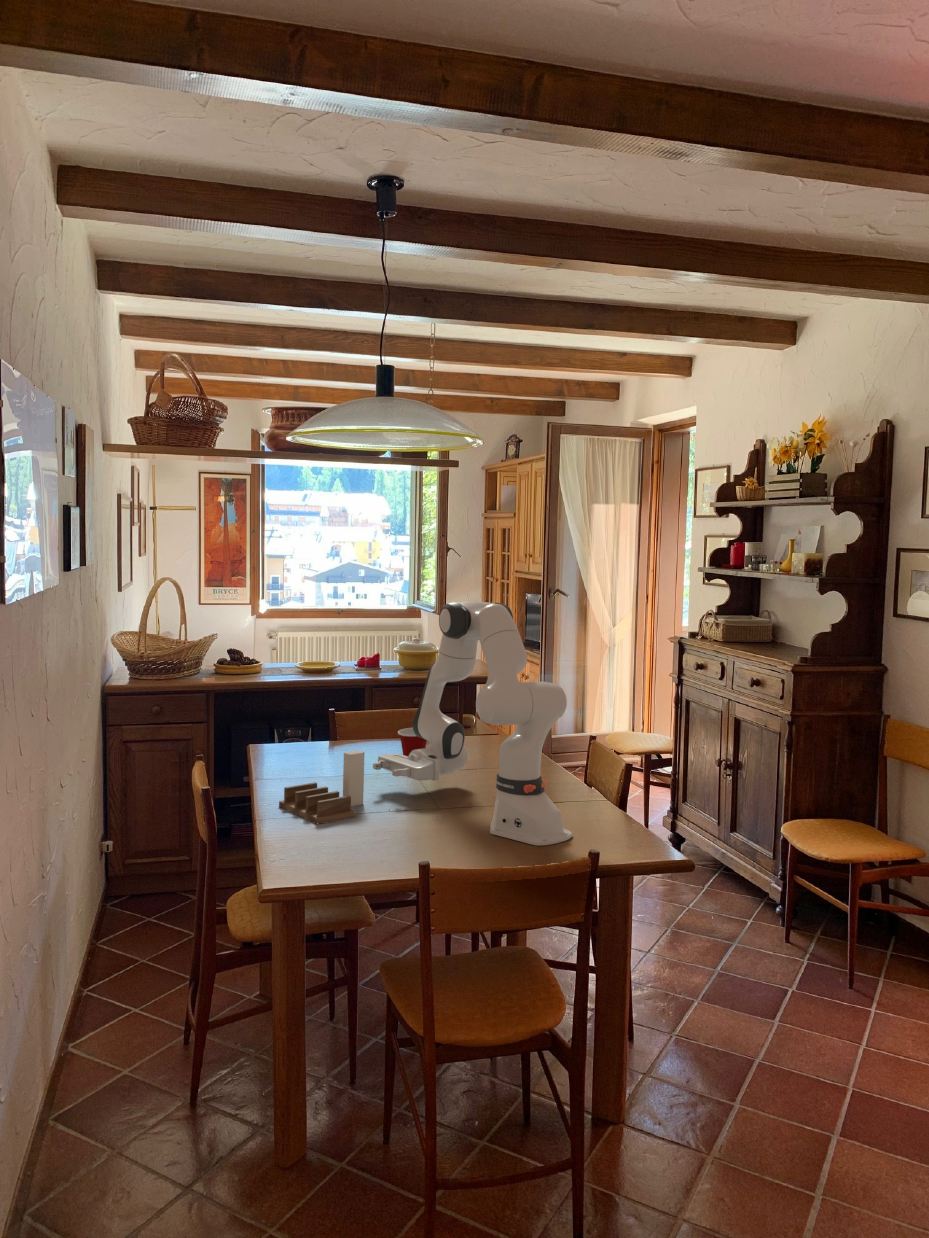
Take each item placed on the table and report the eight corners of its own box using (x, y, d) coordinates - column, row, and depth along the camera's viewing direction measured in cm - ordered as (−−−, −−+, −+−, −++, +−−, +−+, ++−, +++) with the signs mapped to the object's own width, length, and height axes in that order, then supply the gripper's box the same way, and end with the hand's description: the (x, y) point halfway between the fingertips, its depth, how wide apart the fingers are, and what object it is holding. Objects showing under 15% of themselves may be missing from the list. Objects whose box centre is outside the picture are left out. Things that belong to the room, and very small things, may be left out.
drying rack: (355, 816, 251) (356, 796, 251) (317, 824, 243) (318, 803, 243) (315, 799, 266) (316, 780, 265) (278, 806, 258) (279, 787, 258)
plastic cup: (391, 762, 313) (392, 727, 312) (420, 760, 318) (421, 726, 317) (404, 770, 304) (405, 734, 303) (434, 767, 309) (435, 732, 308)
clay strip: (363, 804, 263) (364, 752, 262) (348, 807, 260) (349, 754, 258) (357, 801, 265) (358, 750, 264) (342, 804, 262) (343, 752, 261)
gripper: (400, 746, 285) (363, 752, 276) (442, 759, 270) (405, 766, 261) (399, 767, 286) (362, 773, 277) (442, 781, 271) (404, 788, 262)
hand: (383, 769), depth 269 cm, fingers open, 8 cm apart
